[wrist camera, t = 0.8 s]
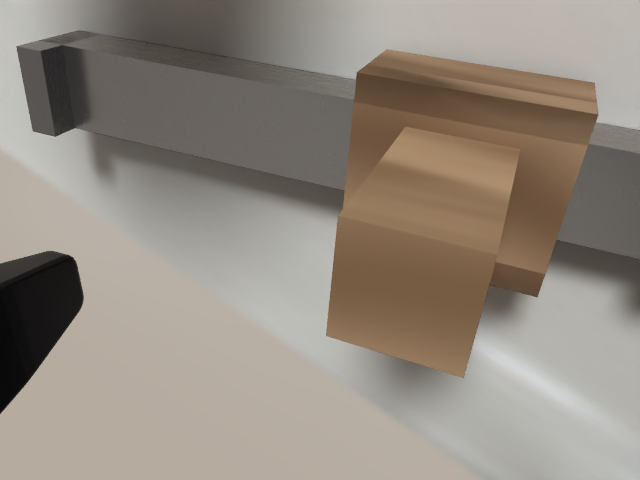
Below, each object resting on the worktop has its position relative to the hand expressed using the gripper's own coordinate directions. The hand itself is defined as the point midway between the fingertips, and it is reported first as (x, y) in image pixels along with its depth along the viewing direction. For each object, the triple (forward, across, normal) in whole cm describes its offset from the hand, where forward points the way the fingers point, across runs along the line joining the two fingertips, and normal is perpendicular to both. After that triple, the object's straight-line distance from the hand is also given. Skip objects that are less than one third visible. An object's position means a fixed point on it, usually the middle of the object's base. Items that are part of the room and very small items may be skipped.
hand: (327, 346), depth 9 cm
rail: (+12, +4, +1) cm, 13 cm away
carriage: (+12, 0, +1) cm, 12 cm away
